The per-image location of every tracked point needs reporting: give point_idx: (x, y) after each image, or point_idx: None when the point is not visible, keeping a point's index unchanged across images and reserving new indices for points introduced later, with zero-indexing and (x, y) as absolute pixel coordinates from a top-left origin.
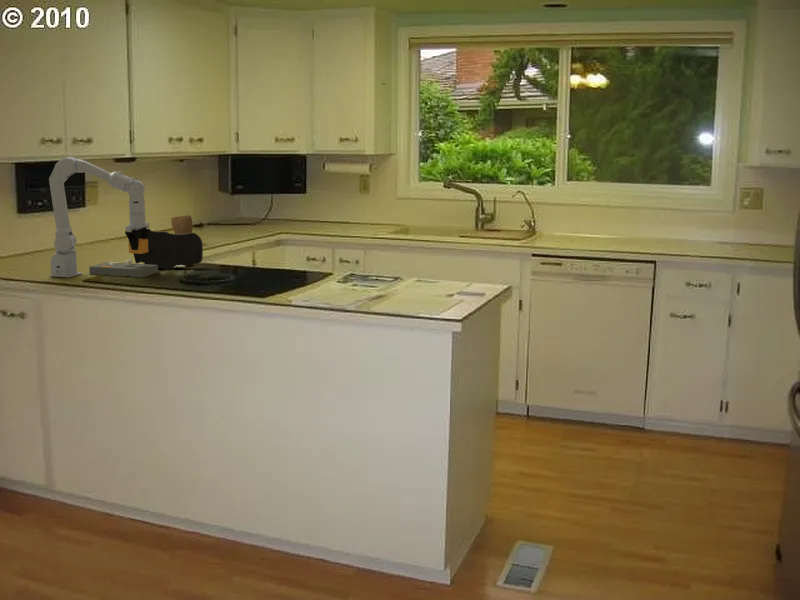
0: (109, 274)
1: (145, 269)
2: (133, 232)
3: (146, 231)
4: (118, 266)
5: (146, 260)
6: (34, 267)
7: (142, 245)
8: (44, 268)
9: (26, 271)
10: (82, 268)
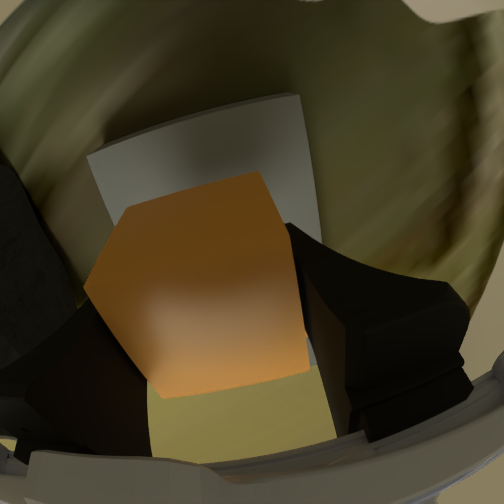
0: None
1: (256, 101)
2: (457, 354)
3: (55, 393)
4: None
5: (59, 298)
6: (281, 451)
7: (241, 209)
8: (282, 440)
9: (334, 432)
10: (230, 410)
